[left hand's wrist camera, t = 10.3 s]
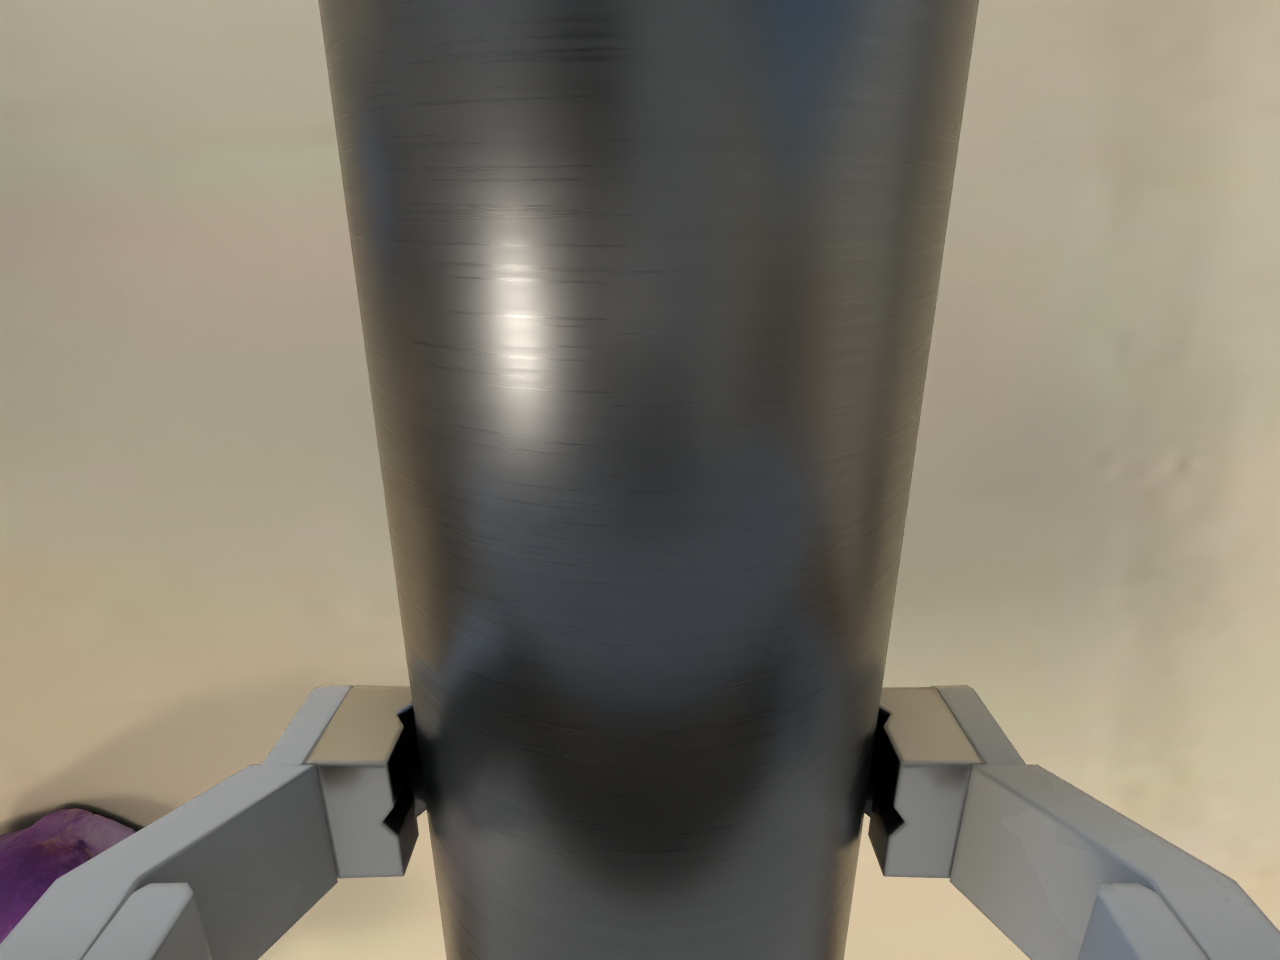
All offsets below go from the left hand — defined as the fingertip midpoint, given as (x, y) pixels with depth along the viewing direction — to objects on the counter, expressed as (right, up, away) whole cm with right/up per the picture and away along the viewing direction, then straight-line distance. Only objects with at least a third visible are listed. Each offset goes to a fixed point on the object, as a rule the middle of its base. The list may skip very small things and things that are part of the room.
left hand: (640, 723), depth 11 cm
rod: (0, +10, -1) cm, 10 cm away
